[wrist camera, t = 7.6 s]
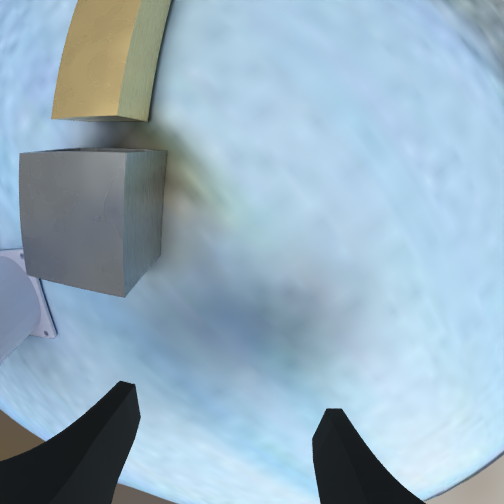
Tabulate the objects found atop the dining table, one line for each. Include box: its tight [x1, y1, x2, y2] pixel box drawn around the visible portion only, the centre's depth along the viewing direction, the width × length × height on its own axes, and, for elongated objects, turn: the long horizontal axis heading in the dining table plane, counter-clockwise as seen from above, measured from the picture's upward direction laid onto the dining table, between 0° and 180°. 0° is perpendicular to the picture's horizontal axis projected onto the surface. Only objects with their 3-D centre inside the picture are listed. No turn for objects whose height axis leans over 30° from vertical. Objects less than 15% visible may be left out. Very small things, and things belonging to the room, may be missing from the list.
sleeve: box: [19, 148, 167, 298], centre depth 15 cm, size 6×6×6 cm
